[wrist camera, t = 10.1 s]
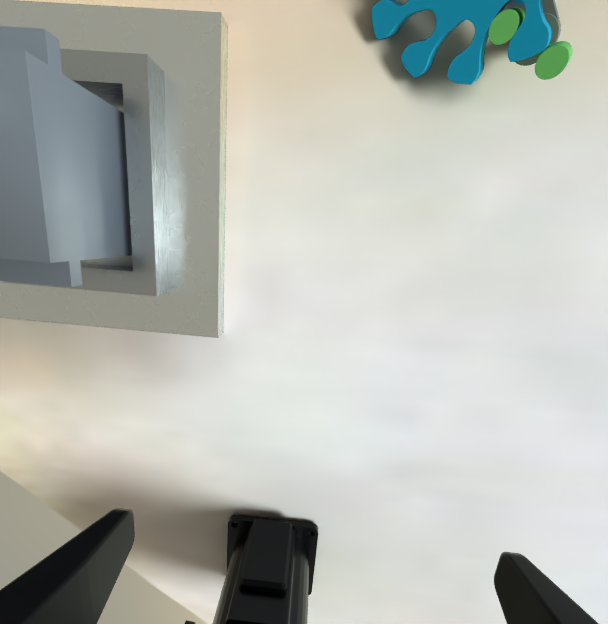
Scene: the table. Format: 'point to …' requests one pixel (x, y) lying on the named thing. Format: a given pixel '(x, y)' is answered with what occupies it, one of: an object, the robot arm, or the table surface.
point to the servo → (56, 167)
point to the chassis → (146, 166)
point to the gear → (481, 34)
